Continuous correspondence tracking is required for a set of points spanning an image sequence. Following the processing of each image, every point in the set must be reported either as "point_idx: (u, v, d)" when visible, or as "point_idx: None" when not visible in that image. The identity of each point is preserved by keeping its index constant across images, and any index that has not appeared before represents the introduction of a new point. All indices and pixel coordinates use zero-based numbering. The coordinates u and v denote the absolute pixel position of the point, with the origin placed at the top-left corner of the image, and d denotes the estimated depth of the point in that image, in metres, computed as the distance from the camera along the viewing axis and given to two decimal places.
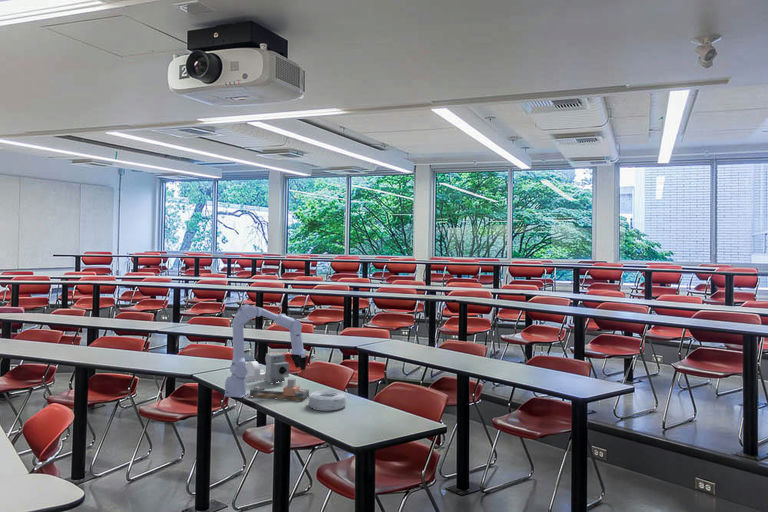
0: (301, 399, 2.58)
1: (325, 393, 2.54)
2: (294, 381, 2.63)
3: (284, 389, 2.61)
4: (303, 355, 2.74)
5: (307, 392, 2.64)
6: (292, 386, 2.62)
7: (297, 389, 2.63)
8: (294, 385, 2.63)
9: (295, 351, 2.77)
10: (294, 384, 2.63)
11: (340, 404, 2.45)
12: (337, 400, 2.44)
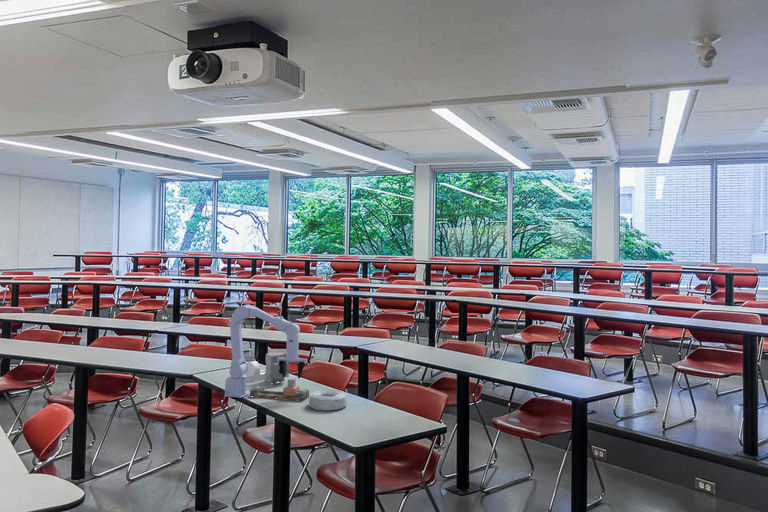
0: (301, 399, 2.58)
1: (325, 393, 2.55)
2: (294, 381, 2.63)
3: (284, 389, 2.61)
4: (306, 361, 2.62)
5: (307, 392, 2.64)
6: (292, 386, 2.62)
7: (297, 389, 2.63)
8: (294, 385, 2.63)
9: (294, 357, 2.61)
10: (294, 384, 2.63)
11: (340, 404, 2.45)
12: (337, 400, 2.45)
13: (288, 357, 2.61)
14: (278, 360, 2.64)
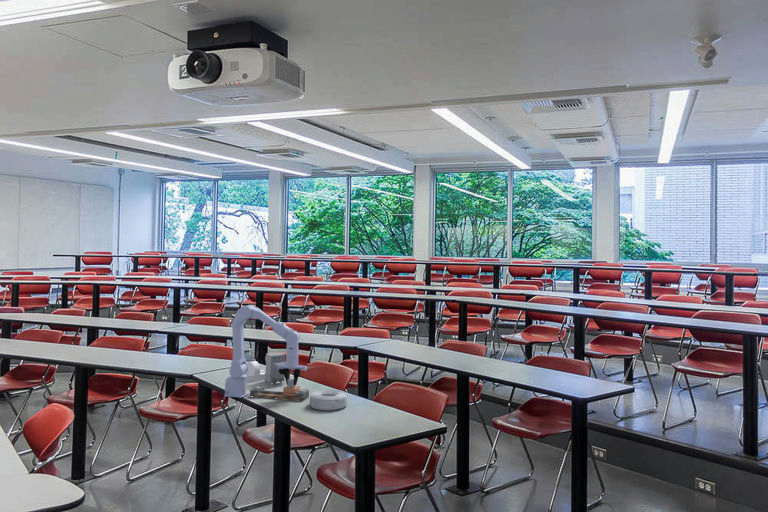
0: (301, 399, 2.58)
1: (326, 393, 2.55)
2: None
3: (284, 389, 2.61)
4: (306, 368, 2.62)
5: (307, 392, 2.64)
6: (292, 386, 2.62)
7: (297, 389, 2.63)
8: (294, 385, 2.63)
9: (294, 365, 2.61)
10: None
11: (341, 404, 2.46)
12: (338, 400, 2.45)
13: (288, 364, 2.61)
14: (278, 367, 2.64)
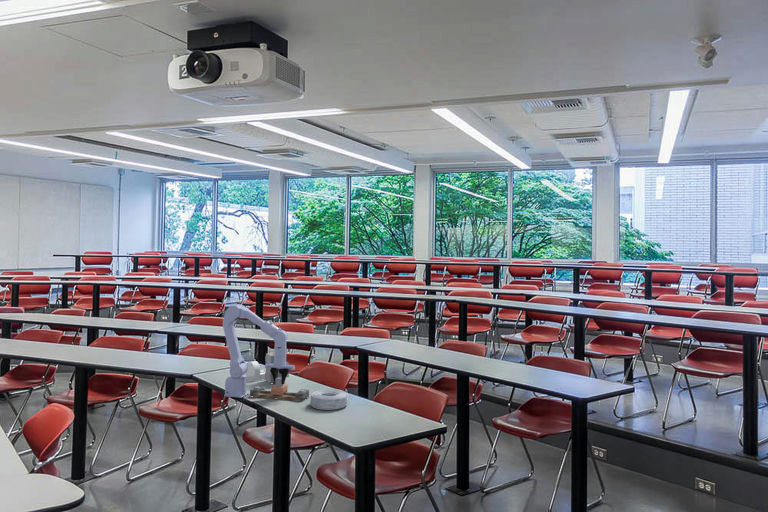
0: (301, 399, 2.58)
1: (326, 392, 2.55)
2: None
3: (272, 388, 2.62)
4: (294, 367, 2.63)
5: (307, 392, 2.64)
6: (280, 385, 2.63)
7: (285, 388, 2.64)
8: None
9: (282, 364, 2.62)
10: None
11: (341, 403, 2.46)
12: (338, 399, 2.45)
13: (276, 364, 2.62)
14: (266, 367, 2.65)
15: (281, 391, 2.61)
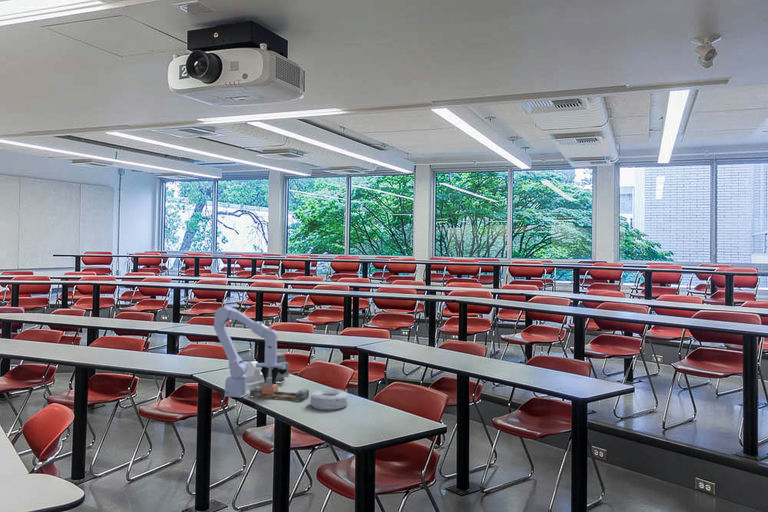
0: (301, 399, 2.58)
1: (327, 392, 2.56)
2: None
3: (262, 387, 2.63)
4: (284, 367, 2.64)
5: (307, 392, 2.64)
6: (270, 384, 2.64)
7: (275, 387, 2.65)
8: None
9: (272, 363, 2.63)
10: None
11: (342, 403, 2.46)
12: (339, 399, 2.46)
13: (266, 363, 2.63)
14: (256, 366, 2.66)
15: (271, 390, 2.62)
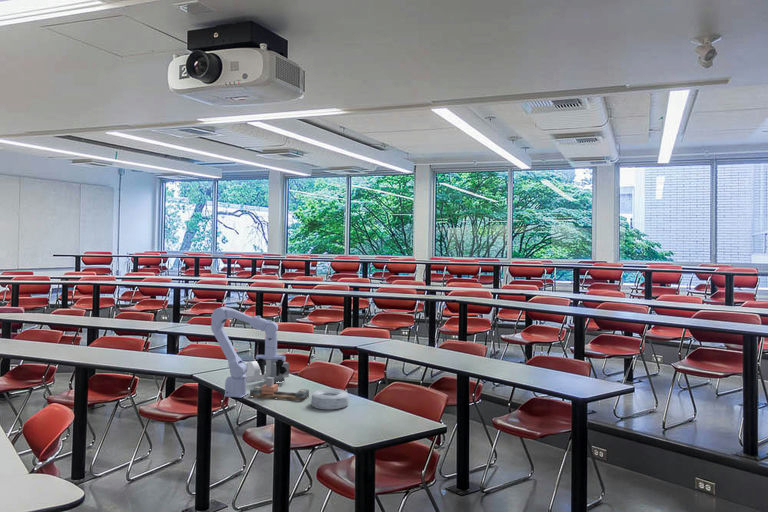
0: (301, 399, 2.58)
1: (327, 392, 2.56)
2: (272, 379, 2.65)
3: (262, 387, 2.63)
4: (284, 358, 2.64)
5: (307, 392, 2.64)
6: (270, 384, 2.64)
7: (275, 387, 2.65)
8: (272, 383, 2.65)
9: (272, 355, 2.63)
10: (272, 383, 2.65)
11: (342, 403, 2.47)
12: (339, 399, 2.46)
13: (266, 355, 2.63)
14: (257, 358, 2.66)
15: (271, 390, 2.62)
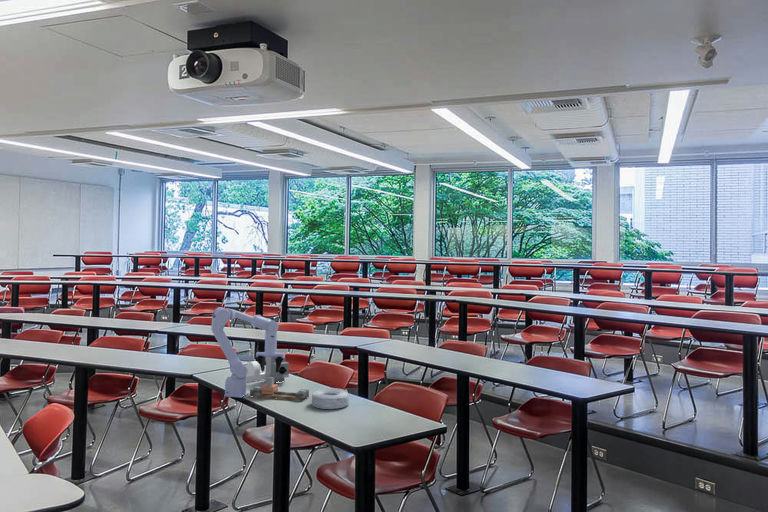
0: (301, 399, 2.58)
1: (328, 392, 2.57)
2: (272, 379, 2.65)
3: (262, 387, 2.63)
4: (284, 355, 2.71)
5: (307, 392, 2.64)
6: (270, 384, 2.64)
7: (275, 387, 2.65)
8: (272, 383, 2.65)
9: (272, 352, 2.70)
10: (272, 383, 2.65)
11: (343, 403, 2.47)
12: (340, 399, 2.47)
13: (266, 352, 2.70)
14: (257, 355, 2.73)
15: (271, 390, 2.62)
